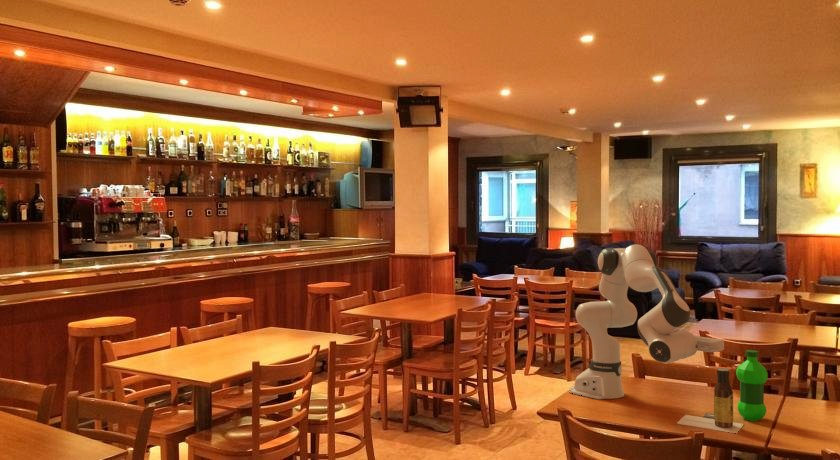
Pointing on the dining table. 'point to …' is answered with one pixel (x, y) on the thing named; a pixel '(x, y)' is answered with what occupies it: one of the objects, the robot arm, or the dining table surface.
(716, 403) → the sauce bottle
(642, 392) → the dining table surface
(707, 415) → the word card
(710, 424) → the paper
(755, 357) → the plastic bottle
